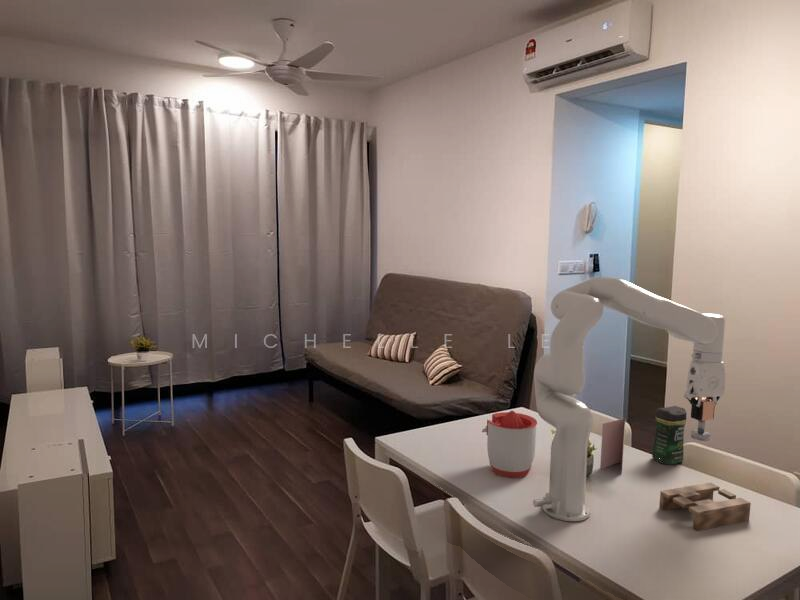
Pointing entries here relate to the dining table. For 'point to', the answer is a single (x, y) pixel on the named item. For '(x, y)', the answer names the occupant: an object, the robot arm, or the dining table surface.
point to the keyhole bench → (706, 505)
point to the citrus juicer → (511, 443)
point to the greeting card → (612, 443)
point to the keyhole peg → (705, 415)
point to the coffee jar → (669, 435)
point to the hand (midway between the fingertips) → (702, 417)
